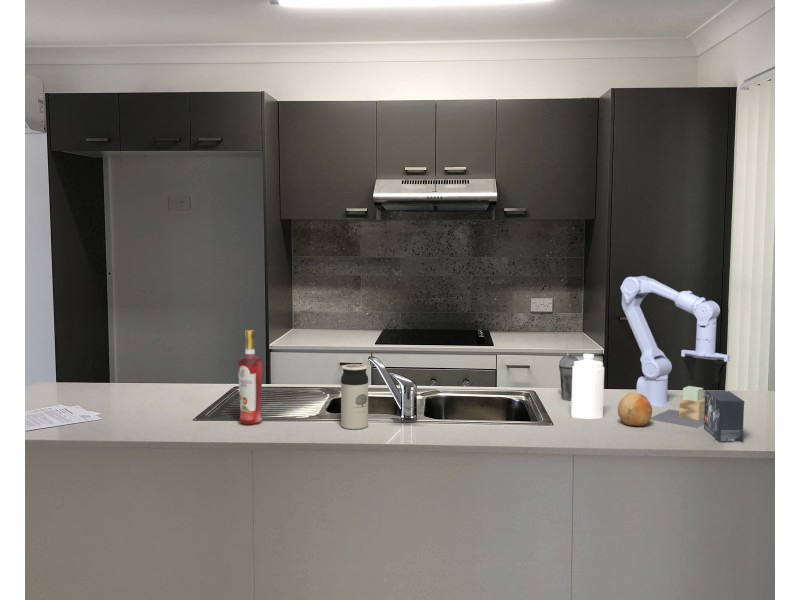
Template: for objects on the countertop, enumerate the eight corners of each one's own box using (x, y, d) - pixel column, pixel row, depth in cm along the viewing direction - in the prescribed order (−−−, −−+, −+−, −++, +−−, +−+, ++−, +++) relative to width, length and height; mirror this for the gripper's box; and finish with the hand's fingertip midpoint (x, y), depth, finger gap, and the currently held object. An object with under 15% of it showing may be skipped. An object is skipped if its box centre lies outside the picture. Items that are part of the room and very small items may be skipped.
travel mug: (337, 424, 213) (337, 364, 211) (362, 421, 216) (362, 363, 214) (346, 431, 206) (346, 369, 204) (372, 428, 209) (372, 367, 207)
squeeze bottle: (569, 415, 225) (572, 419, 220) (571, 352, 223) (574, 355, 218) (600, 416, 225) (604, 420, 220) (602, 353, 223) (606, 356, 218)
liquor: (233, 424, 212) (232, 331, 209) (247, 419, 218) (246, 328, 216) (254, 427, 209) (253, 332, 206) (268, 421, 216) (267, 329, 213)
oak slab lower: (678, 416, 223) (679, 407, 223) (686, 413, 227) (686, 404, 227) (698, 420, 219) (698, 411, 219) (705, 416, 223) (705, 407, 223)
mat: (647, 420, 220) (647, 418, 220) (669, 410, 233) (669, 409, 232) (696, 429, 210) (697, 427, 210) (717, 418, 222) (717, 417, 222)
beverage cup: (581, 401, 244) (583, 344, 242) (560, 401, 244) (561, 343, 242) (576, 397, 251) (578, 340, 250) (555, 396, 251) (557, 340, 250)
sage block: (682, 399, 222) (683, 388, 222) (688, 396, 226) (688, 385, 225) (697, 401, 219) (697, 390, 219) (702, 399, 223) (703, 388, 222)
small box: (702, 429, 210) (704, 389, 209) (726, 430, 209) (728, 390, 208) (717, 442, 197) (719, 399, 195) (743, 443, 196) (745, 400, 195)
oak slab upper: (679, 407, 223) (679, 399, 222) (686, 404, 227) (687, 396, 227) (698, 411, 219) (699, 402, 218) (705, 407, 223) (706, 399, 223)
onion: (616, 428, 210) (617, 395, 209) (618, 420, 219) (619, 388, 218) (651, 432, 207) (652, 398, 206) (651, 423, 216) (652, 391, 215)
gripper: (678, 338, 230) (676, 379, 231) (724, 342, 220) (722, 386, 221) (686, 335, 235) (685, 376, 236) (732, 340, 225) (730, 383, 226)
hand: (703, 381), depth 229 cm, fingers open, 7 cm apart
